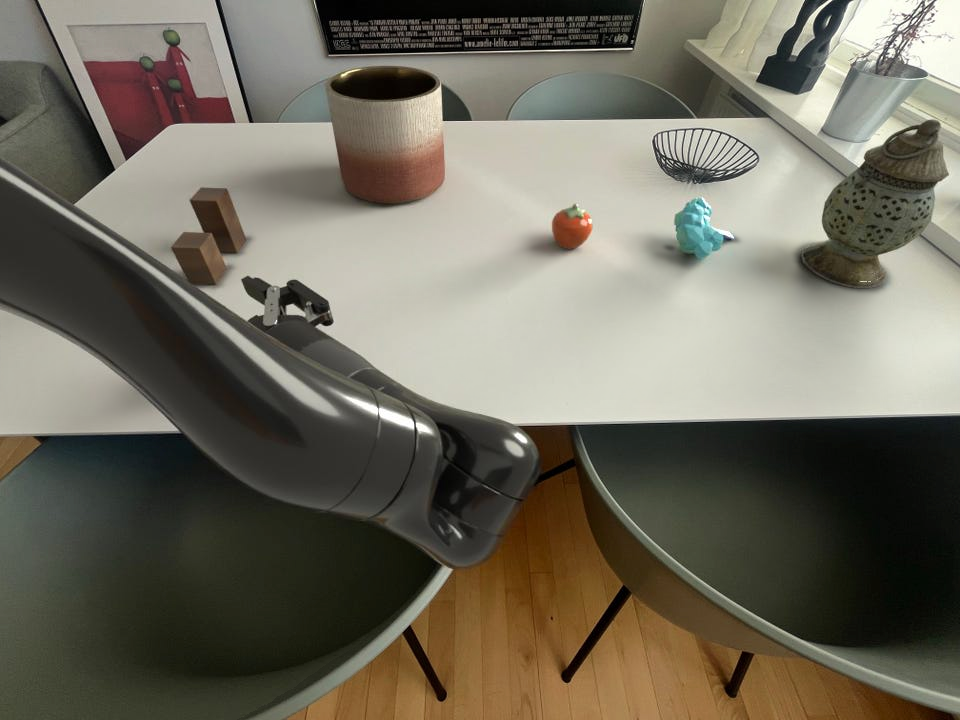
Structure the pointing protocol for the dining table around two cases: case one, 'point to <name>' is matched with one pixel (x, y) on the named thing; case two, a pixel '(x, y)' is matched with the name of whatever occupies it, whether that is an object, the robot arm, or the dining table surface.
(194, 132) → the dining table surface
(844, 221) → the lantern
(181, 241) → the block near
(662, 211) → the dining table surface
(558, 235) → the tomato
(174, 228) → the dining table surface
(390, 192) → the planter
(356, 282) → the dining table surface
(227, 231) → the block far
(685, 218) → the turquoise faceted lumpy piece
